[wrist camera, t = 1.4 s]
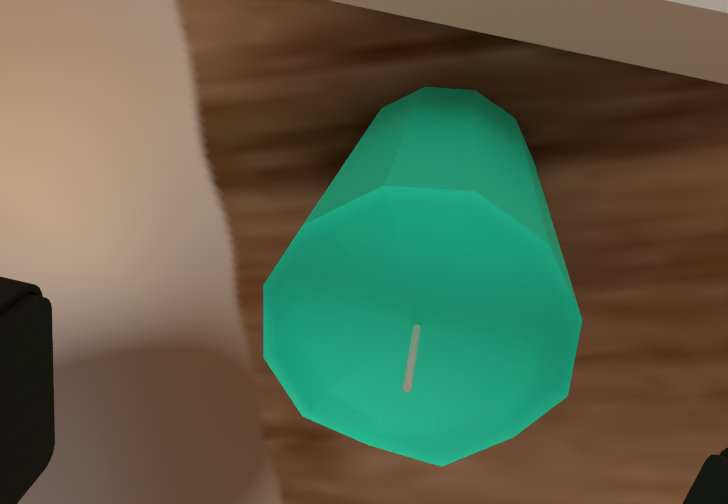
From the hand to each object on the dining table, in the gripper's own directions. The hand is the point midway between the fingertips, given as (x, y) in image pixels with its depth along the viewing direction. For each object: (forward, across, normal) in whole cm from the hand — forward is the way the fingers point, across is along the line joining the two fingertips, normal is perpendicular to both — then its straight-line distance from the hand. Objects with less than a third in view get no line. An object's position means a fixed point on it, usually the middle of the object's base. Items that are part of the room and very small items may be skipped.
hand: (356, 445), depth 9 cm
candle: (+14, -1, 0) cm, 14 cm away
